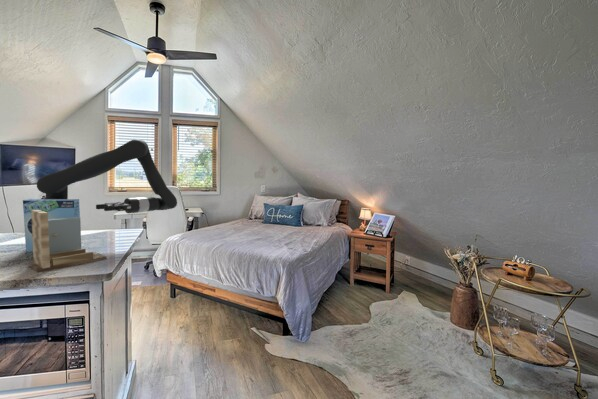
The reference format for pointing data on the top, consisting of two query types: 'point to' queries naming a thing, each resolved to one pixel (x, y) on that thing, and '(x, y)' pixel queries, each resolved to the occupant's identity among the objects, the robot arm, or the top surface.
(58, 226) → the grey flat block
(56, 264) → the hinge base
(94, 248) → the top surface
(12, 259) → the top surface
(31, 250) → the gum box
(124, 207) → the robot arm
